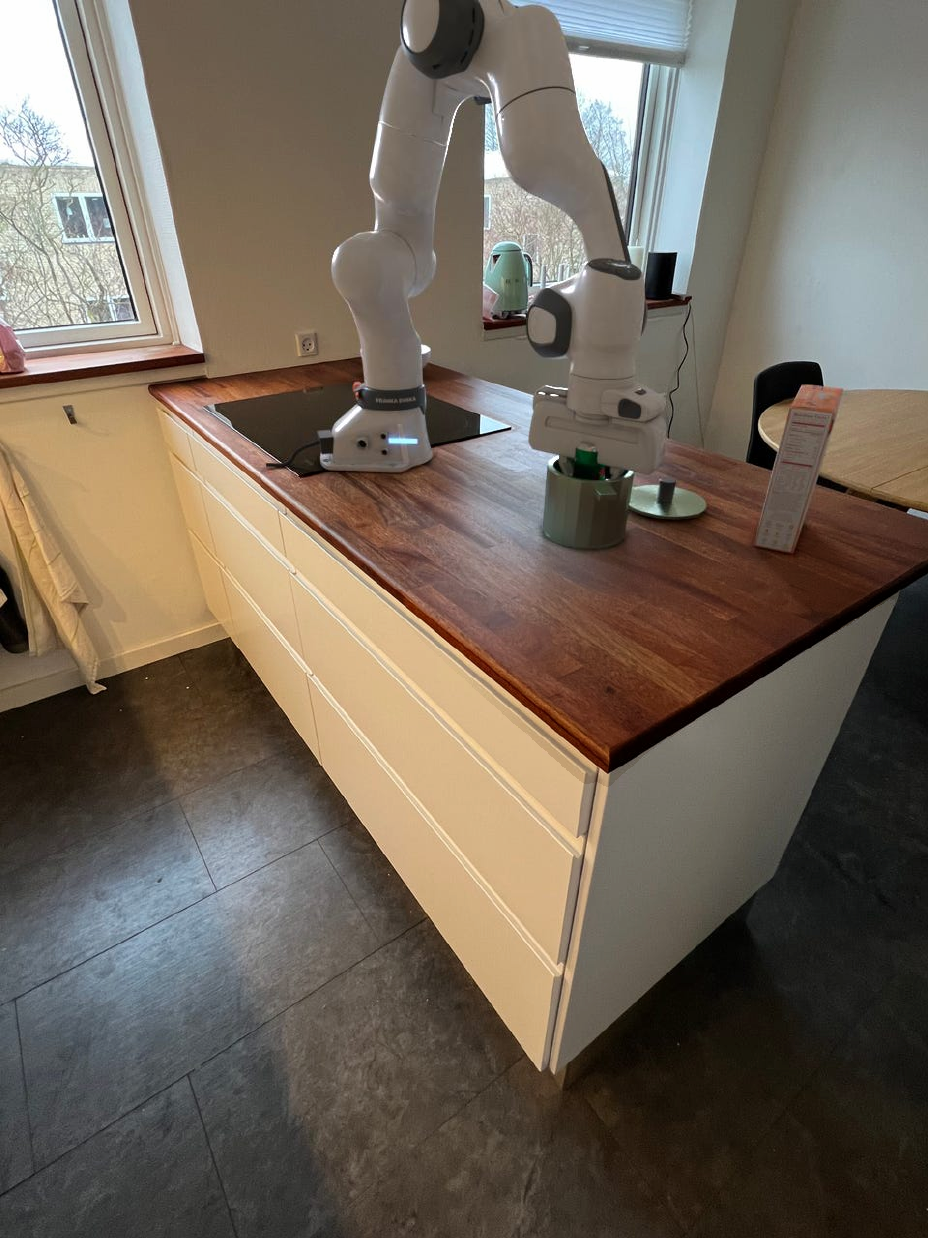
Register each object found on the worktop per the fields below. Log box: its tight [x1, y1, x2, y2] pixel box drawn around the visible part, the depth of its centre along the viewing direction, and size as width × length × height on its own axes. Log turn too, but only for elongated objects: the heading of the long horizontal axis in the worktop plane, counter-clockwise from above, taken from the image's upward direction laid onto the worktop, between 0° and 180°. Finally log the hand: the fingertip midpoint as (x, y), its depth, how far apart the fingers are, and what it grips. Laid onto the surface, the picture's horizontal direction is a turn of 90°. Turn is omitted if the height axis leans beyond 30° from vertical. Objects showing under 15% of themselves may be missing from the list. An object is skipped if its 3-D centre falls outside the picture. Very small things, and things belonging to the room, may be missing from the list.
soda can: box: [572, 441, 608, 480], centre depth 94 cm, size 5×5×12 cm
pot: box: [542, 455, 635, 550], centre depth 96 cm, size 13×18×10 cm
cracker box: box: [752, 384, 844, 555], centre depth 93 cm, size 14×6×21 cm, turn 150°
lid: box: [629, 476, 707, 521], centre depth 106 cm, size 14×14×5 cm
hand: (588, 488), depth 95 cm, fingers closed on soda can, 5 cm apart
